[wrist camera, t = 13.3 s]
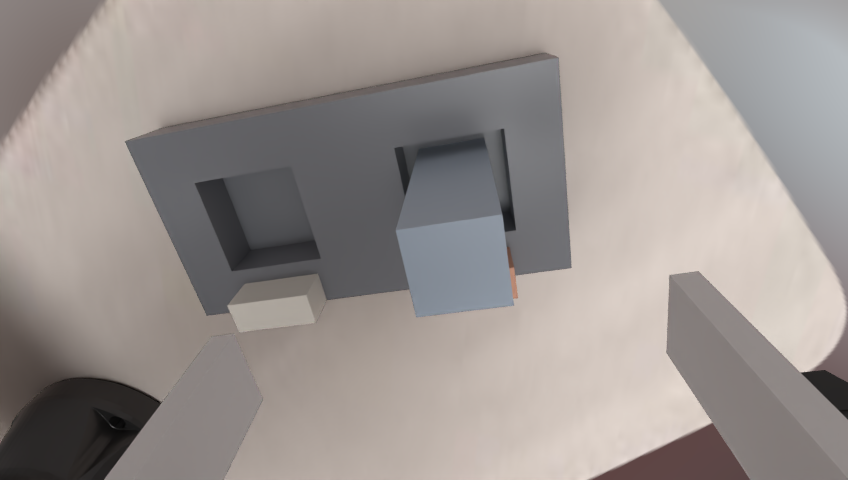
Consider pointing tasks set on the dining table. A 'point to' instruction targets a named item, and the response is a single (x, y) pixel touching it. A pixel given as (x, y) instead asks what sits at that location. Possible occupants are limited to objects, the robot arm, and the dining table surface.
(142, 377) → the dining table surface
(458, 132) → the socket block
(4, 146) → the dining table surface
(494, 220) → the plug
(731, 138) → the dining table surface
